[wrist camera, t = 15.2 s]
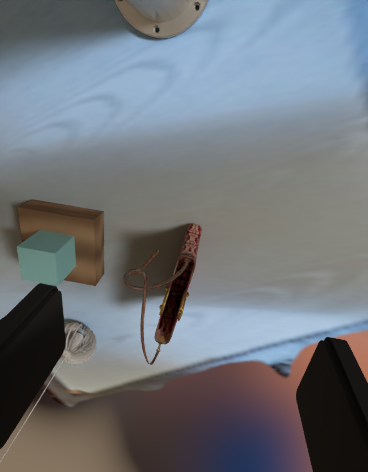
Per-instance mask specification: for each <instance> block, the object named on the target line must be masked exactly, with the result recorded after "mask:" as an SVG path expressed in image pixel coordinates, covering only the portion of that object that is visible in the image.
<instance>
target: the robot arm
mask: <svg viewBox="0 0 368 472" xmlns="http://www.w3.org/2000/svg"><path fill="white" fill-rule="evenodd" d="M115 3H116V5H117V7H118V9H119V10H120V12H121V14H122V15H123V16H124V18H125V19H126V20H127V21H128V23H130V24H131V25H132V26H133V27H134V28H135V29H137V30H138V31H140V32H141V33H143V34H145V35H148V36H150V37H154V38H170V37H174V36H177V35H179V34H181V33H183V32H185V31H186V30H188V29H189V28H190V27H191V26H192V25H193V24H194V23H195V22H196V21H197V20H198V19H199V17H200V16H201V15H202V13H203V11H204V9H205V7H206V6H207V3H208V0H123V1H122V2H121V0H115ZM196 6H199V10H196V9H195V8H196ZM157 28H158V29H159V32H158V33H156V29H157ZM65 347H66V338H65V327H64V316H63V305H62V294H61V292H60V291H58V289H57V287H56V286H52V285H47V284H42V283H40V284H38V285H37V286H36V287H35V288H34V289H33V290H32V291H31V292H30V293H29V294H28V295H27V296H26V297H25V298H24V299H23V300H22V301H21V302H19V303H18V304H17V305H16V306H15V307H14V308H13V309H12V310H11V311H10V312H9V313H8V314H7V315H6V316H5V317H4V318H2V319H1V320H0V449H1V448H2V447H3V446H4V444H5V443H6V442H7V440H8V439H9V437H10V435H11V434H12V432H13V431H14V429H15V428H16V426H17V424H18V423H19V421H20V420H21V418H22V417H23V415H24V413H25V412H26V410H27V409H28V407H29V406H30V404H31V402H32V401H33V399H34V398H35V396H36V395H37V393H38V392H39V390H40V388H41V387H42V385H43V384H44V382H45V381H46V379H47V377H48V376H49V374H50V373H51V371H52V370H53V368H54V367H55V365H56V363H57V362H58V360H59V359H60V357H61V356H62V354H63V352H64V350H65ZM296 400H297V404H298V409H299V413H300V417H301V421H302V426H303V430H304V435H305V439H306V443H307V448H308V452H309V456H310V461H311V465H312V469H313V472H368V383H367V381H366V379H365V377H364V375H363V373H362V371H361V369H360V367H359V365H358V363H357V360H356V358H355V356H354V355H353V352H352V350H351V348H350V347H349V345H348V343H347V341H345V340H341V339H336V338H330V337H327V338H325V340H324V341H323V340H321V341H320V342H319V343H318V345H317V348H316V350H315V352H314V354H313V356H312V358H311V361H310V363H309V365H308V367H307V369H306V371H305V374H304V376H303V378H302V380H301V382H300V384H299V386H298V389H297V392H296Z"/></svg>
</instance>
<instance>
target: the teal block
mask: <svg viewBox="0 0 368 472" xmlns="http://www.w3.org/2000/svg"><path fill="white" fill-rule="evenodd" d="M17 253H18V259H19V265H20V271H21V277H22V280H27V281H33V282H38V283H43V284H49V285H54V286H59V285H60V284H61V282H62V281H63V280H64V279H65V278H66V277H67V276H68V275H69V273H70V272H71V271H72V270H73V269H74V268H75V267H76V257H75V239H74V236H72V235H66V234H61V233H55V232H49V231H44V230H39V231H38V232H36V233H35V234H34V235H32V236H31V237H29V238H28V239H26V240H25V241H24V242H22V243H21V244H19V245H18V246H17Z"/></svg>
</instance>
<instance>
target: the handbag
mask: <svg viewBox="0 0 368 472" xmlns="http://www.w3.org/2000/svg"><path fill="white" fill-rule="evenodd" d="M201 231H202V229H201V227H200V226H199V225H196V224H189V226H188V227H187V230H186V233H185V236H184V239H183V243H182V246H181V249H180V253H179V256H178V259H177V263H176V266H175V269H174V272H173V276H172V277H171V278H169V279H167V280H165V281H163V282H161V283H158V284H155V285H152V286H147V277H146V274H145V273H144V272H142V271H140V270H142V269H144V268H145V267H146V266H147V265H148V264H149V263H150V261H151V260H152V259H153V258H154V257H155V256H156V255H157V253H158V252H159V251H158V250H157V251H156V252H155V253H154V254H153V255H152V256H151V257H150V258H149V260H148V261H147V262H146V263H145V264H144V265H143V266H142V267H140V268H139V269H135V270H134V269H132V270H129V272H128V273H126V274H125V275H124V283H125V284H126V285H127V286H128V287H130V288H132V289H137V290H144V294H143V303H142V312H141V343H142V348H143V353H144V356H145V359H146V361H147V363H148V364H149V362H148V360H147V356H146V352H145V346H144V331H143V329H144V312H145V302H146V293H147V289H151V288H156V287H159V286H162V285H165V284H167V283H169V282H170V286H166V287H165V290H166V295H167V296H166V295H165V297H164V300H163V304H162V305H160V309H161V310H160V314H159V315H161V316H160V319H159V322H158V326H157V329H156V332H155V341H156V342H158V343H159V346H158V349H159V350H160V345H161V344H167V343H169V341H170V339H171V337H172V334H173V331H174V328H175V325H176V322H177V319H178V321H179V320H180V318H181V315H182V314H183V309H184V305H185V300H186V297H188V296H189V293H188V292H187V290H188V287H189V284H190V281H191V278H192V275H193V272H194V269H195V264H196V258H197V252H198V246H199V241H200V236H201ZM135 273H143V275H144V287H134V286H131V285H130V284H129V283H128V282H127V276H128V275H130V274H131V275H134V274H135ZM171 290H176V291H178V293H175V292H172V291H171ZM186 293H187V294H186ZM183 302H184V303H183ZM182 305H183V306H182ZM181 307H182V310H181ZM180 312H181V313H180ZM158 349H156V351H157V352H156V355H155V357H154V359H153V361H152V362H151V363H150V365H152V364H153V363H154V361H155V359H156V357H157V355H158V354H159V352H160V351H159V350H158Z"/></svg>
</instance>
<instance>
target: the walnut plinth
mask: <svg viewBox="0 0 368 472" xmlns="http://www.w3.org/2000/svg"><path fill="white" fill-rule="evenodd" d="M17 209H18V216H19V222H20V229H21V235H22V242H24V241H25V240H26V239H28V238H29V237H31V236H32V235H34V234H35V233H36V232H38V231H39V230H44V231H49V232H55V233H61V234H66V235H72V236H74V239H75V257H76V267H75V268H74V269H73V270H72V271H71V272H70V273H69V275H68V276H67V277H66V278H65V279H64V280H66V281H72V282H77V283H83V284H88V285H93V286H96V284H97V283H98V282H99V280H100V279H101V277H102V276H103V274H104V211H98V210H92V209H86V208H80V207H74V206H68V205H62V204H56V203H50V202H44V201H38V200H30V201H28V202H26V203H25V204H23V205H21V206H19V207H17Z"/></svg>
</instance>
